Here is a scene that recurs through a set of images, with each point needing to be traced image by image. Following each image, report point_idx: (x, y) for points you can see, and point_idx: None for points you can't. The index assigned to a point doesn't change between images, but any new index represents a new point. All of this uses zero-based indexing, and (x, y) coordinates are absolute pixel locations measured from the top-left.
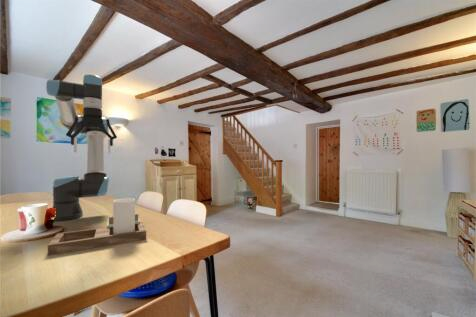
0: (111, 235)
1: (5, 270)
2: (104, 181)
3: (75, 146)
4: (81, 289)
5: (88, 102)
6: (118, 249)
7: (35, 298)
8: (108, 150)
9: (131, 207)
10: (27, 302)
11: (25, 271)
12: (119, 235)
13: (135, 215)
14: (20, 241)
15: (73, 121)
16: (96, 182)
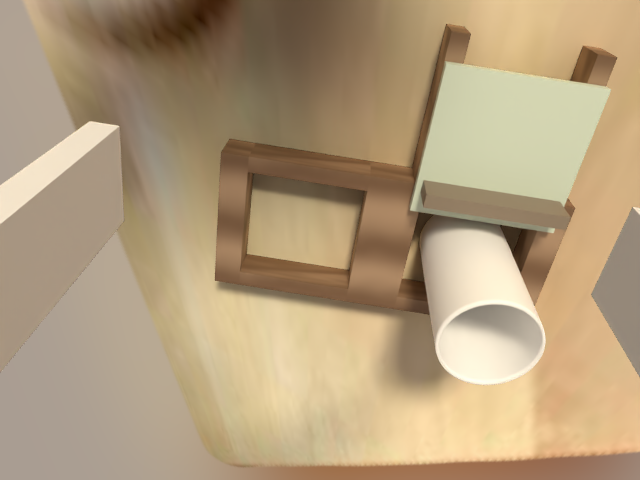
0: (403, 305)
1: (146, 300)
2: None
3: (74, 273)
4: (308, 460)
5: None
6: (410, 336)
7: (240, 444)
8: (608, 318)
9: (503, 357)
10: (231, 448)
11: (193, 332)
12: (428, 313)
13: (549, 225)
14: (85, 33)
15: None
16: None
